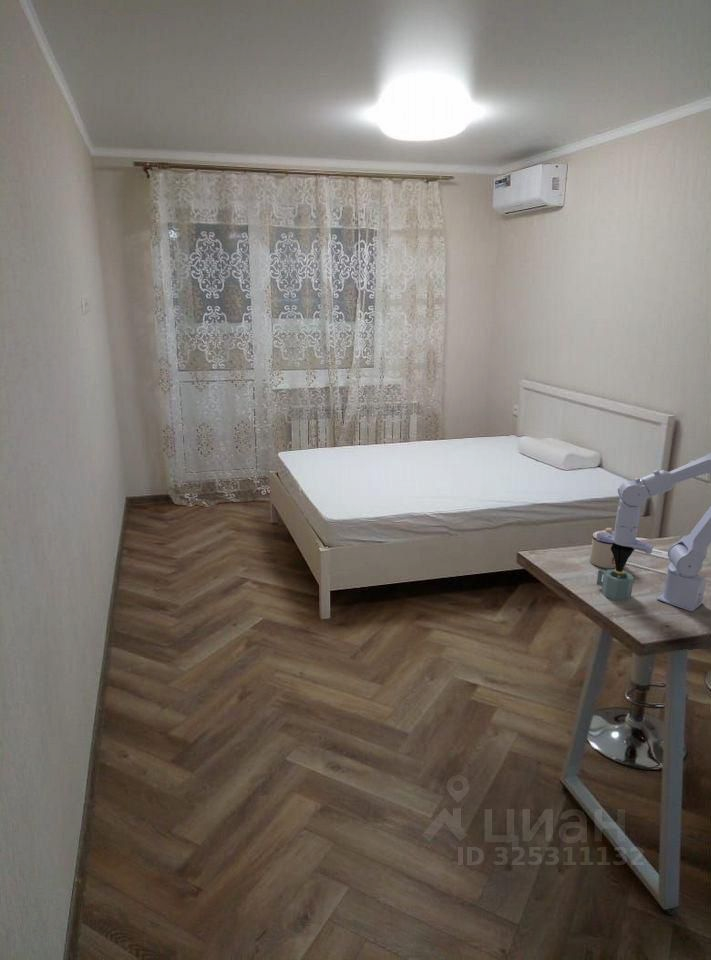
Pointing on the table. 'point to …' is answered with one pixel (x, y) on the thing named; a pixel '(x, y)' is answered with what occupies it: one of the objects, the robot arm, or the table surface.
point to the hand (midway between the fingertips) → (619, 570)
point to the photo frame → (654, 553)
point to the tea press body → (615, 584)
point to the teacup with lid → (602, 551)
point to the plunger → (619, 573)
